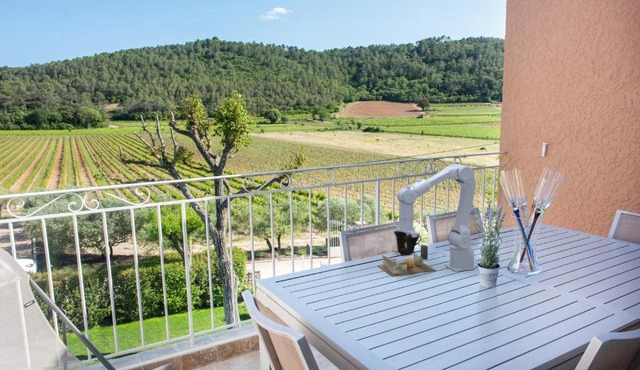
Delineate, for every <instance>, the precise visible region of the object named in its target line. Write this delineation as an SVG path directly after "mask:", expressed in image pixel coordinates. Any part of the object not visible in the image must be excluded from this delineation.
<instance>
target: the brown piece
mask: <svg viewBox="0 0 640 370" xmlns="http://www.w3.org/2000/svg"><path fill="white" fill-rule="evenodd" d="M377 267H378V268H379V269H381V270H382V271H383V272H385V273H386V274H388V276H389V275H390V277H399V276H400V277H401V276H408V275H409V276H410V275H415V274H423V273H424V274H425V273H430V272H436V271H437V270H436V269H435V268H433V267H431V266H430V265H429V264H426V263H424V262H423V266H419V265H417V264H415V263H414V265H413V266H412V267H407V265H405V261H402V262H397V258H396V257H389V256H388V255H386V254H382V264H379V265H377Z"/></svg>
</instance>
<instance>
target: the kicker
mask: <svg viewBox="0 0 640 370" xmlns="http://www.w3.org/2000/svg"><path fill="white" fill-rule="evenodd" d="M428 248H429V247H428V246H427V245H426V244H422V245H420V255H418V254H416V253H414V254H413V260H414V263H415V264H417V265H419V266H423V263H424V262H423V261H428V260H429V258H428V255H429V254H428V250H429V249H428Z"/></svg>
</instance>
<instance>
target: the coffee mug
mask: <svg viewBox="0 0 640 370" xmlns="http://www.w3.org/2000/svg"><path fill="white" fill-rule="evenodd" d="M406 236H409V235H408V234H407V235H406ZM417 236H419V240H418V241H417V242H416V245H415V247H416V246H417V245H419V244H420V242H421V241H422V236H421V235H420V234H417ZM395 238H396V237H395ZM396 247H397V253H398V252H399V253H400V254H401V255H400V256H406V257H407V256H411V255H413V253H408V251H407V243H406V240H405V247H404V248H399V245H398V241H397V238H396Z"/></svg>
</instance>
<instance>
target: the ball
mask: <svg viewBox="0 0 640 370" xmlns="http://www.w3.org/2000/svg"><path fill="white" fill-rule="evenodd" d="M404 262H405V265H407V267H412V266H413V265H414V258H413V257H412V258H411V257H407V258H405V260H404Z"/></svg>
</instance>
